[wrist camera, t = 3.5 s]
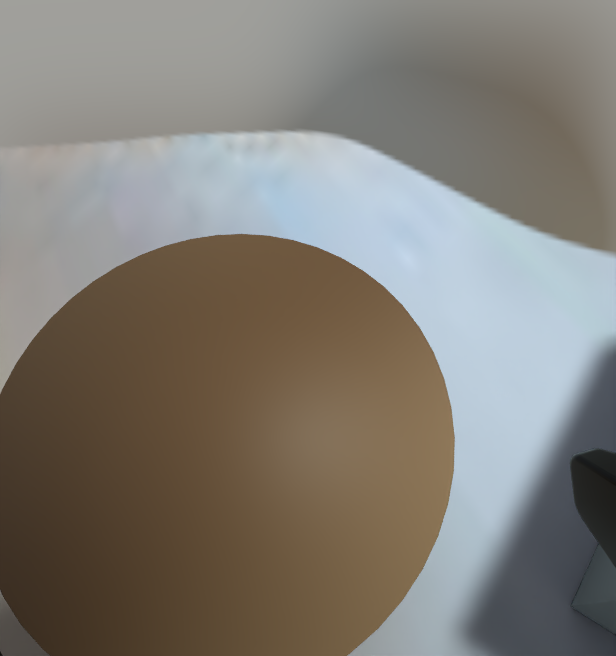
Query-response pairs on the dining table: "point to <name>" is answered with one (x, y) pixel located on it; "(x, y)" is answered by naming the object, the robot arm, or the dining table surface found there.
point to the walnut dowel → (221, 457)
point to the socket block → (598, 592)
